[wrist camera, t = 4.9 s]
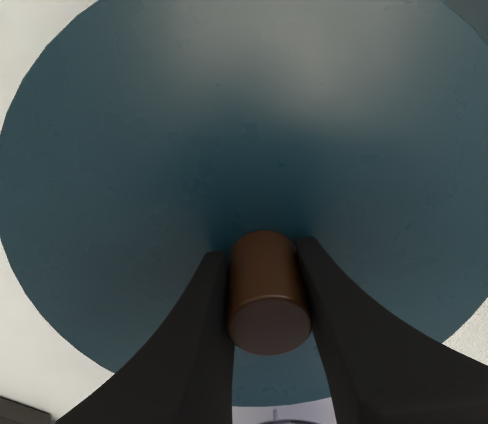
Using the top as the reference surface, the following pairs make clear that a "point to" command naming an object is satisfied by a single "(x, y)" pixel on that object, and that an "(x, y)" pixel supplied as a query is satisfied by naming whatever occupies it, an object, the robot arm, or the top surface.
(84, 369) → the top surface
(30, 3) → the top surface
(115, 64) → the lid
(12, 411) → the laptop
